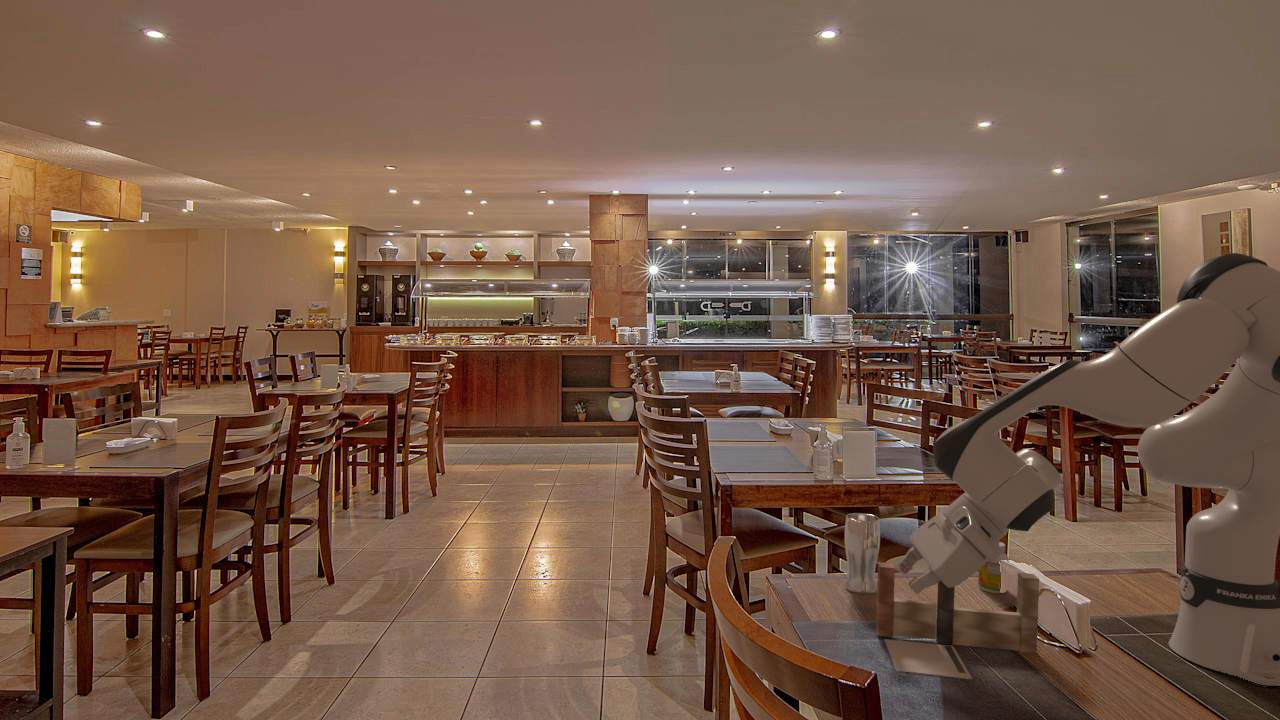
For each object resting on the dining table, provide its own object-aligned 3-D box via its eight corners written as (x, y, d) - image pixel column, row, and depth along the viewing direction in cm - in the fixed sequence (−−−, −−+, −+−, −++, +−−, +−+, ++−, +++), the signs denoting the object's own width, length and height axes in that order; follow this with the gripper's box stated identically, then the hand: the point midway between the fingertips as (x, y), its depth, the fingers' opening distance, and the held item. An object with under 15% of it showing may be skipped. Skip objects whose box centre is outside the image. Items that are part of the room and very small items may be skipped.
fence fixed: (1030, 646, 113) (1033, 573, 113) (1036, 654, 111) (1039, 579, 110) (934, 638, 116) (936, 566, 116) (938, 644, 114) (940, 571, 113)
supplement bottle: (978, 582, 143) (979, 537, 142) (1006, 587, 140) (1008, 541, 140) (978, 591, 138) (979, 544, 137) (1007, 596, 135) (1009, 548, 135)
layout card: (953, 647, 113) (953, 645, 113) (971, 679, 102) (971, 677, 102) (884, 640, 115) (884, 639, 115) (896, 671, 104) (896, 670, 104)
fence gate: (932, 634, 116) (934, 566, 116) (936, 640, 114) (938, 571, 113) (876, 629, 118) (877, 562, 118) (878, 635, 116) (880, 567, 115)
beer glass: (881, 596, 134) (883, 523, 134) (845, 593, 136) (846, 520, 135) (876, 584, 141) (877, 513, 141) (841, 581, 143) (843, 511, 142)
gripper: (939, 497, 123) (882, 546, 125) (973, 528, 103) (905, 586, 105) (964, 523, 123) (906, 572, 125) (1004, 559, 102) (934, 616, 105)
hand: (906, 579), depth 115 cm, fingers open, 8 cm apart
